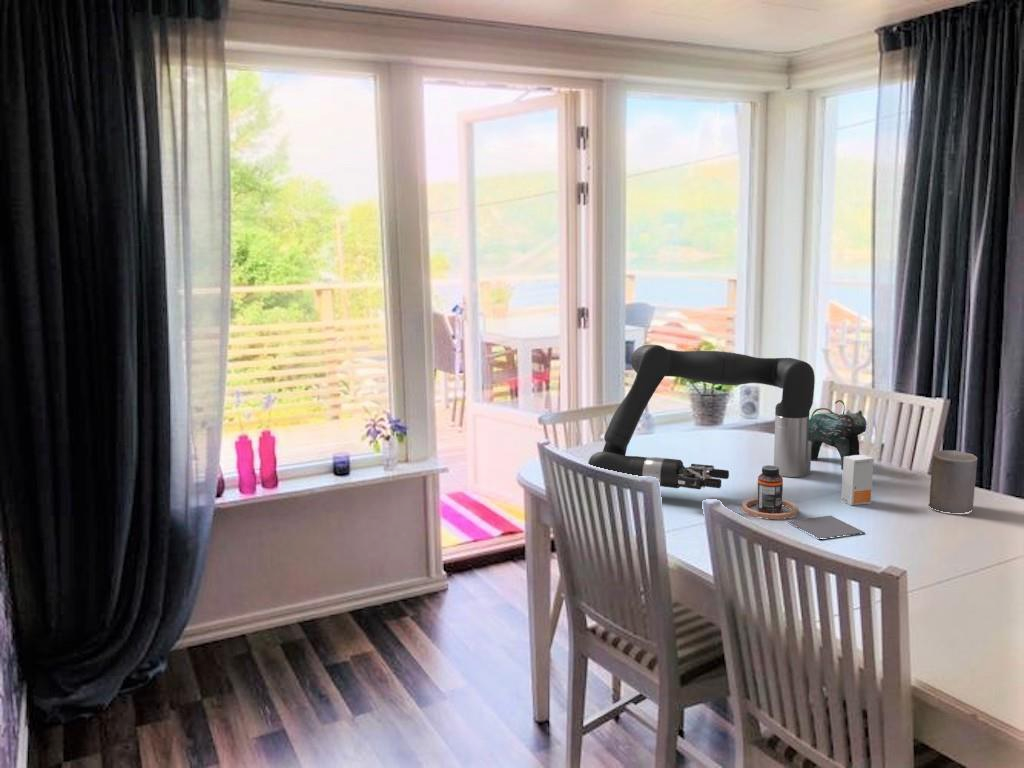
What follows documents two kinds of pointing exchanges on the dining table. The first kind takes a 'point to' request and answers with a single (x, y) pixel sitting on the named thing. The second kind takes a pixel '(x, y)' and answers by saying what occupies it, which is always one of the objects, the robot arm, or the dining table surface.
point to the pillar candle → (953, 481)
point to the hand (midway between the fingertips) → (724, 479)
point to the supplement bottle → (770, 490)
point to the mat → (825, 527)
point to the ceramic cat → (836, 432)
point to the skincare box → (857, 479)
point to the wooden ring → (768, 515)
